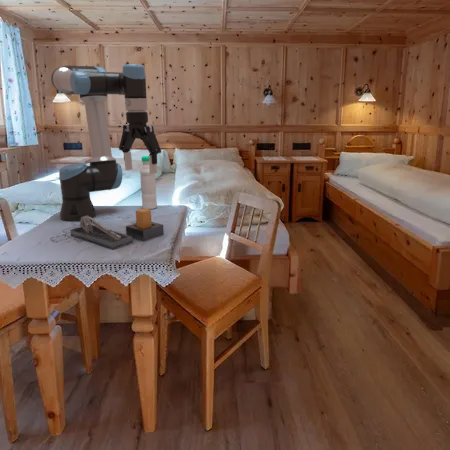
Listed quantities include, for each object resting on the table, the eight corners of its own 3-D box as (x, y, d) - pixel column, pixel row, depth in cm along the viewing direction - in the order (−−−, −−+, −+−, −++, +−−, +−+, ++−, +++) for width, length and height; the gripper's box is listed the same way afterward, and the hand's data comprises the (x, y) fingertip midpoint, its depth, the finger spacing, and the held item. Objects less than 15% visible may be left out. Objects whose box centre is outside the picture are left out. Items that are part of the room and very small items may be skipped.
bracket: (86, 225, 160) (90, 204, 155) (118, 256, 150) (123, 235, 145) (79, 227, 157) (82, 205, 152) (111, 259, 148) (116, 237, 143)
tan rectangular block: (137, 235, 156) (135, 210, 153) (145, 233, 159) (143, 208, 156) (144, 237, 153) (142, 212, 151) (152, 235, 156) (150, 210, 154)
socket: (126, 236, 155) (125, 226, 154) (146, 229, 163) (145, 220, 162) (143, 241, 149) (143, 230, 148) (163, 234, 157) (163, 224, 156)
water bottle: (141, 206, 199) (137, 155, 192) (155, 205, 201) (152, 154, 194) (143, 210, 193) (140, 157, 186) (158, 208, 195) (155, 156, 188)
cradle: (70, 235, 157) (70, 229, 156) (90, 229, 163) (90, 224, 163) (112, 249, 141) (112, 243, 141) (132, 242, 148) (132, 236, 147)
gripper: (106, 111, 147) (111, 169, 154) (152, 111, 133) (156, 176, 139) (122, 111, 153) (127, 167, 159) (169, 111, 138) (172, 173, 144)
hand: (140, 171), depth 149 cm, fingers open, 13 cm apart
